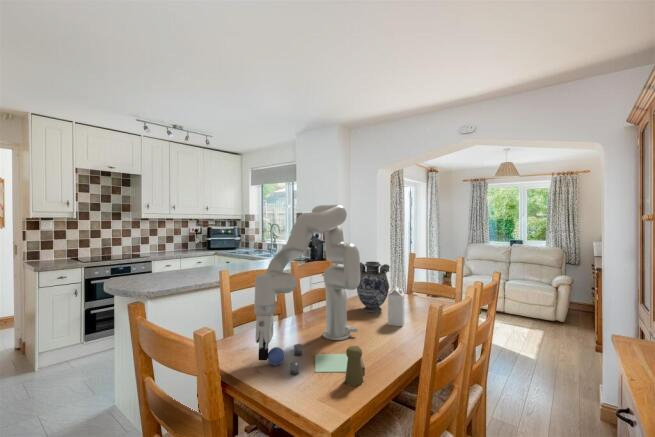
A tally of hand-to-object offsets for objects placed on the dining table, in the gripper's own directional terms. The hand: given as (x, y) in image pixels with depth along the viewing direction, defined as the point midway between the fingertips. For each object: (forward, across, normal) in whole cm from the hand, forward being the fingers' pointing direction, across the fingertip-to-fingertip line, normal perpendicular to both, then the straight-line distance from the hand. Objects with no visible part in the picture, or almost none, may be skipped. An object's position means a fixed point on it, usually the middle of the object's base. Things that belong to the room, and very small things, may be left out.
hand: (263, 359), depth 113 cm
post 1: (+1, +9, -12) cm, 15 cm away
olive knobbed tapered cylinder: (+2, -12, -32) cm, 34 cm away
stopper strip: (+1, +2, -35) cm, 35 cm away
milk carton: (-1, +44, -58) cm, 73 cm away
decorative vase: (-1, +68, -50) cm, 84 cm away
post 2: (+2, -6, -12) cm, 14 cm away
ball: (-1, 0, -5) cm, 5 cm away
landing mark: (+1, +1, -26) cm, 26 cm away
